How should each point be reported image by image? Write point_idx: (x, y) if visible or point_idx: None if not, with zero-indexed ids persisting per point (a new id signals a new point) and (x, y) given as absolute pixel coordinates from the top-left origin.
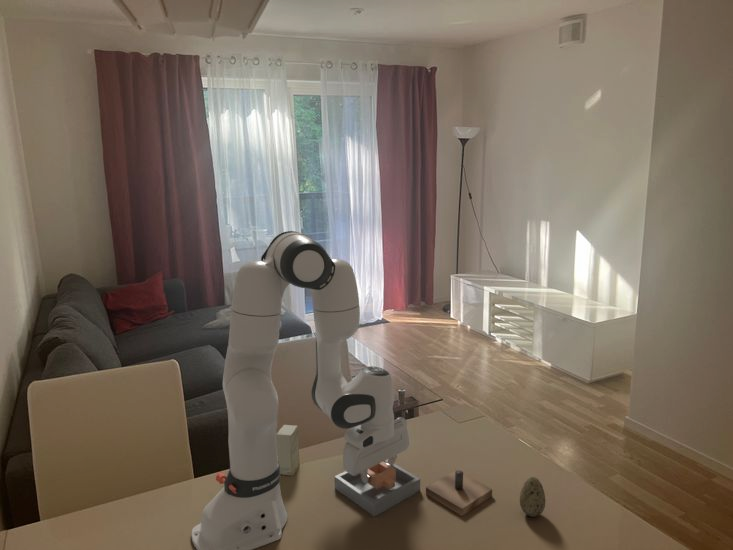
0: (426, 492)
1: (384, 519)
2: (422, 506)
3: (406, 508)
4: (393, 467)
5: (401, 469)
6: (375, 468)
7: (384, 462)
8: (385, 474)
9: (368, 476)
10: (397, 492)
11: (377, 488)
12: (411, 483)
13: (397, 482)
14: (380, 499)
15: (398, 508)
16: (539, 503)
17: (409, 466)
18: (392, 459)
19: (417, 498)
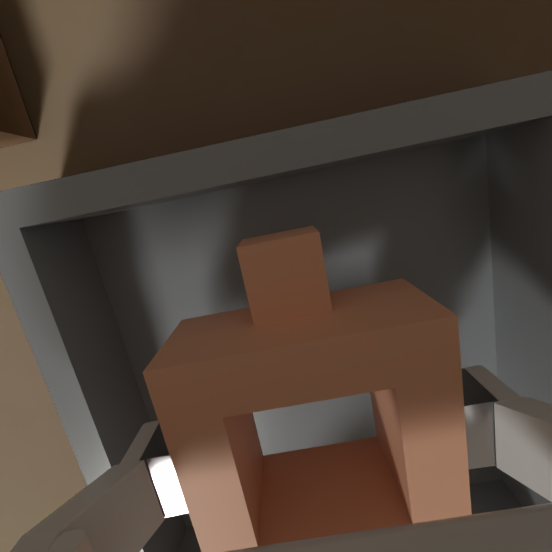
0: (21, 128)
1: (463, 33)
2: (129, 16)
3: (250, 63)
4: (136, 437)
5: (73, 404)
6: (301, 501)
7: (197, 530)
8: (314, 342)
9: (480, 415)
10: (277, 132)
11: (404, 280)
12: (85, 174)
13: (161, 341)
14: (501, 99)
15: (301, 97)
16: None
17: (7, 451)
18: (95, 529)
19: (117, 128)
